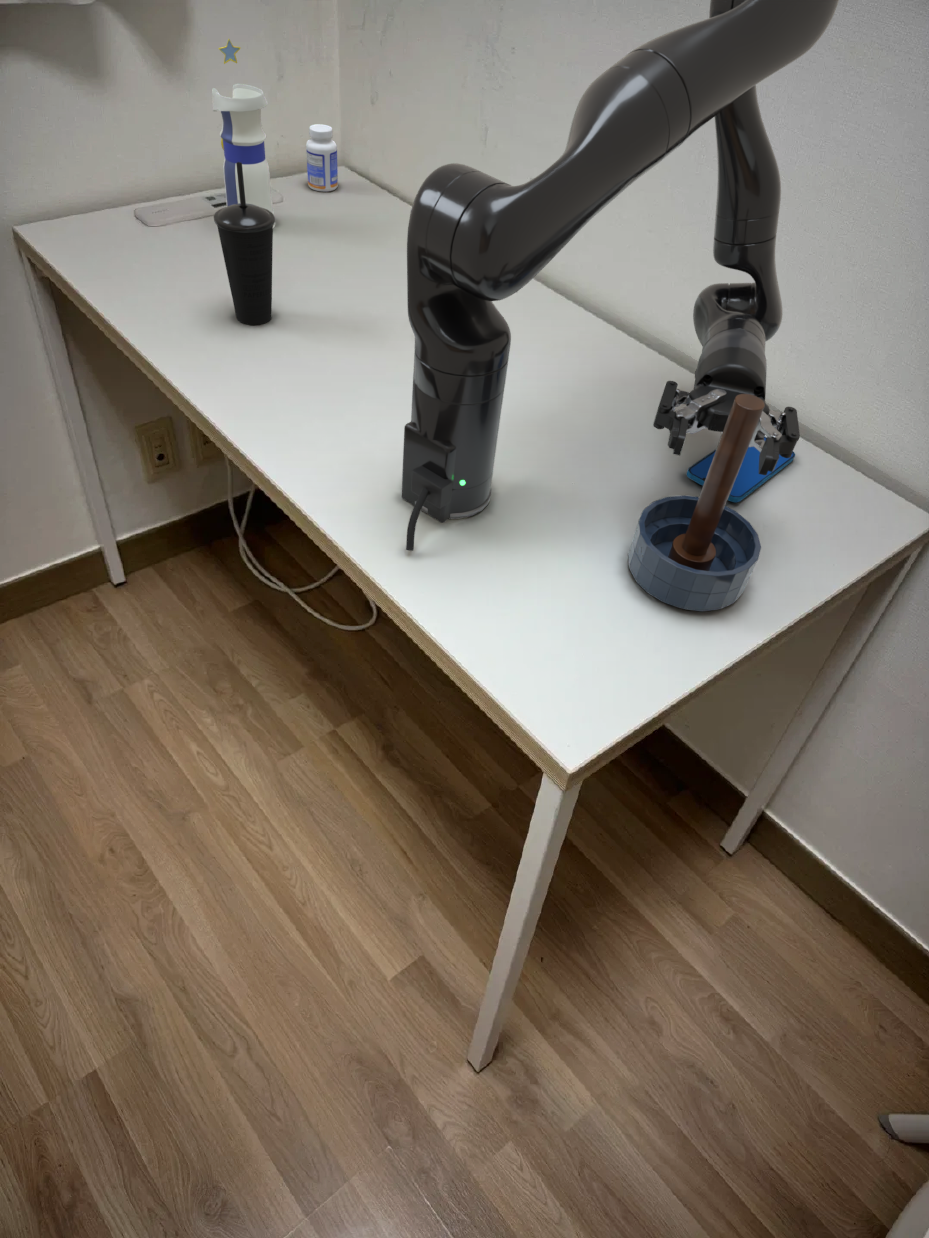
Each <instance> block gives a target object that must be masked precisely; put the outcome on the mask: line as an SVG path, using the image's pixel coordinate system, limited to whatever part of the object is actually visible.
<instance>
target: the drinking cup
mask: <svg viewBox="0 0 929 1238" xmlns="http://www.w3.org/2000/svg"><path fill="white" fill-rule="evenodd" d="M236 165H237V175H238V185H239V195H240V203H239V204H233V205H230V206H227V205H226V206H225V207H221V208H220V209H217V210H216V211H215V212H214V214H213V222H214V224H215V226H216V227H217V231H218V232H217V233H218V236H219V241H220V246H221V252H222V255H223V260H224V261H223V262H224V265H225V269H226V274H227V279H228V280H227V281H228V285H229V289H230V294H231V299H232V304H233V308H234V313H235V317H236V319H237V321H238V322H239V323H242V324H243V325H249V326H259V325H264V324H267V323H268V322H270V321H271V319H272V316H273V315H272V313H273V312H272V307H273V305H272V304H273V303H272V301H273V251H274V250H273V248H274V247H273V245H274V243H273V241H274V239H273V238H274V228H273V225H274V223H275V224H276V216H275V214H274V215H273V213H272V212H270V211H269V210H267V209H265V208H262V207H259V206H256V205H253V204H246V200H245V190H244V180H243V169H242V163H241V162H237V163H236Z"/></svg>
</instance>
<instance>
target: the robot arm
mask: <svg viewBox="0 0 929 1238" xmlns="http://www.w3.org/2000/svg"><path fill="white" fill-rule="evenodd" d="M839 1H840V0H710V2H709V11H708V13H709V14H708V18H706V19H703V20H700V21H696V22H695V23H691V24H688V25H686V26H683V27H679V28H677V29H674V30H672V31H669V32H667V33H664V34H662V35H659V36H656V37H655V38H653V39H651V40H650V41H647V42H644V43H642V44H641V45H639V46H638V47H636V48H634V49H633V50H631V51H630V52H628V53H627V54H626V55H624V57H622V58H620V59H619V60H618V61H617V62H615V63H614V64H613V65H611V66H610V67H609V68H607V69H605V70H604V72H602V73H601V74H600V75H599V76H598V77H597V78H596V79H594V80H593V81H592V82H591V83H590V85H588V87H587V88H586V89H585V91H584V92H583V94H582V95H581V97H580V99H579V100H578V103H577V106H576V108H575V111H574V113H573V118H572V121H571V125H570V128H569V132H568V137H567V141H566V146H565V149H564V151H563V153H562V155H560V157H559V158H558V159H556V161H555V162H553V163H552V164H551V165H550V166H549V167H547V168H546V169H545V170H544V171H542V172H541V173H540V174H538V175H537V176H536V177H534V178H532V179H531V180H529V181H527V182H525V183H523V184H519V185H512V184H509V183H507V182H505V181H503V180H501V179H498V178H496V177H494V176H491V175H489V174H487V173H486V172H483V171H481V170H479V169H477V168H474V167H472V166H469V165H466V164H464V163H458V162H456V163H455V162H453V163H447V164H443V165H441V166H439V167H437V168H436V169H434V170H433V171H432V172H431V173H429V174H428V175H427V177H426V178H425V179H424V181H423V182H422V184H421V185H420V187H419V189H418V190H417V193H416V195H415V197H414V199H413V203H412V206H411V209H410V213H409V219H408V225H407V226H408V227H407V237H406V291H407V293H406V294H407V295H406V296H407V298H406V299H407V317H408V322H409V325H410V328H411V330H412V333H413V336H414V351H413V352H414V353H413V373H412V392H411V412H410V413H411V414H410V421H409V422H407V423H406V424H405V425H404V427H403V428H404V429H403V448H402V449H403V450H402V473H401V475H402V476H401V499H402V500H404V501H406V502H407V503H409V504H411V505H412V506H413V508H412V510H411V513H410V516H409V520H408V524H407V531H406V541H405V543H406V545H405V550H406V551H410V552H414V547H415V536H416V535H415V534H416V527H417V523H418V518H419V516H420V513H421V512H423V513H425V514H426V515H428V516H430V517H431V518H433V519H434V520H436V521H438V522H439V523H446V522H447V521H448V520H451V519H453V520H455V519H457V520H458V519H463V518H464V519H465V518H468V517H472V516H475V515H478V514H479V513H480V512H482V511H483V510H485V508H486V507H487V506H488V504H489V503H490V501H491V498H492V497H491V495H492V483H493V476H494V466H495V461H496V460H495V459H496V453H497V445H498V438H499V431H500V423H501V418H502V417H501V416H502V410H503V401H504V394H505V387H506V380H507V373H508V366H509V359H510V352H511V343H512V333H511V329H510V325H509V324H508V322H507V321H506V318H505V317H504V316H503V315H502V314H501V312H500V311H499V310H498V308H497V307H496V305H495V304H494V303H493V302H498V301H502V300H505V299H507V298H509V297H511V296H513V295H514V294H516V293H518V292H519V291H520V290H522V289H523V288H524V287H525V286H526V285H527V284H529V283H530V282H531V281H532V280H533V279H534V278H535V277H536V276H537V275H538V274H539V273H540V272H541V271H542V270H543V269H544V268H545V267H546V266H547V265H548V264H549V263H551V261H553V259H554V258H555V257H556V256H557V255H558V254H559V253H560V252H561V251H562V250H563V249H564V248H565V247H566V245H567V244H568V243H570V241H572V239H573V238H575V236H576V235H577V234H578V233H580V231H581V230H582V229H583V228H584V227H585V226H586V225H587V224H588V223H589V222H591V220H593V218H595V216H597V215H598V214H599V213H600V212H601V211H602V210H604V209H605V208H606V207H607V206H609V204H610V203H612V201H614V200H615V199H616V198H617V197H618V196H619V195H621V194H622V193H623V192H624V191H625V190H627V188H629V186H631V185H632V184H634V183H635V182H636V181H637V180H638V179H640V178H641V177H642V176H644V175H645V174H647V173H648V172H649V171H650V170H652V169H654V168H655V167H656V166H657V165H658V164H660V163H661V162H662V161H663V160H665V159H666V158H667V157H668V156H669V155H671V154H672V153H673V152H674V151H675V150H677V149H678V148H679V147H680V146H681V145H683V144H684V143H685V142H686V141H687V140H688V139H689V138H690V137H691V136H693V134H695V133H696V132H697V131H698V130H699V129H700V128H702V127H703V126H705V125H706V124H707V123H708V122H710V121H711V120H712V119H713V118H714V128H715V141H716V155H717V156H716V158H717V187H716V190H717V191H716V201H715V203H716V204H715V217H714V231H713V244H712V256H713V259H714V261H715V263H716V264H718V266H721V267H724V268H727V269H730V270H735V271H738V272H743V273H745V274H746V275H747V274H748V275H749V276H750V277H751V278H752V279H753V282H730V283H729V282H719V283H718V282H717V283H713V284H710V285H707V286H706V287H704V288H703V289H702V290H701V291H700V292H699V294H698V295H697V297H696V299H695V301H694V305H693V311H692V312H693V313H692V319H693V320H692V321H693V326H694V331H695V334H696V337H697V339H698V341H699V343H700V346H702V349H701V354H700V356H699V358H698V361H697V364H696V365H697V366H696V369H695V371H694V384H693V389H692V390H690V391H685V390H681V389H679V388H678V386H679V384H678V382H677V381H674V380H668V381H666V382H665V387H664V389H663V391H662V395H661V398H660V401H659V404H658V407H657V411H656V415H655V416H654V420H653V425H652V427H654V428H655V429H656V430H664V429H667V430H668V431H669V436H668V440H667V441H668V442H667V447H668V449H671V450H673V451H672V455H675V456H681V453H682V450H683V447H684V444H685V442H686V439H687V438H686V437H687V434H690V435H694V434H696V433H698V432H701V431H703V430H705V429H707V430H708V431H712V432H718V433H723V430H724V427H725V424H726V422H727V419H728V416H729V413H730V411H731V408H732V405H733V402H734V400H735V397H736V396H737V395H740V394H750V395H754V396H756V397H758V398H760V399H761V400H762V401H763V402H764V404H765V406H764V409H763V411H762V414H761V417H760V419H759V422H758V424H757V427H756V429H755V432H754V434H753V437H752V439H751V442H750V444H749V447H755V448H756V449H757V450H758V451H759V452H760V455H759V474H761V475H767V472H768V471H770V472H772V471H773V470H774V469H775V466H776V464H777V462H778V459H779V454H780V456H782V457H784V458H790V457H791V455H792V453H793V452H794V449H795V447H796V446H797V443H798V441H799V439H800V437H801V434H800V433H801V432H800V426H799V418H798V410H797V409H796V408H795V407H793V406H786V407H784V410H783V411H782V412H781V411H776V410H771V409H770V407H769V405H768V404H767V403H766V394H767V393H766V392H767V371H768V370H767V369H768V368H767V367H768V366H767V365H768V364H767V358H766V342H768V341H769V340H771V339H772V338H773V337H774V336H775V335H776V333H778V331H779V329H780V327H781V324H782V320H783V302H782V295H781V291H780V285H779V281H778V275H777V265H776V245H777V233H778V225H779V219H780V218H779V217H780V209H781V199H782V182H781V174H780V169H779V166H778V162H777V158H776V155H775V153H774V149H773V147H772V144H771V141H770V139H769V136H768V133H767V130H766V127H765V124H764V122H763V118H762V113H761V109H760V105H759V100H758V94H757V85H758V84H760V83H761V82H762V81H764V80H765V79H767V78H769V77H771V76H773V75H774V74H776V73H777V72H778V71H781V70H783V69H784V68H785V67H787V66H789V65H790V64H792V63H793V62H795V61H797V60H798V59H799V58H802V56H803V57H804V55H805V54H806V53H807V52H809V51H810V50H811V49H812V48H813V47H814V46H815V45H816V44H817V43H818V42H819V40H820V39H821V38H822V36H823V35H824V33H825V32H826V31H827V29H828V27H829V25H830V24H831V22H832V20H833V17H834V15H835V13H836V11H837V8H838V5H839ZM680 405H685V406H684V407H681V408H679V409H677V410H676V408H678V407H680ZM764 436H765V437H767V438H766V440H764Z"/></svg>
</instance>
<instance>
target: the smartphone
mask: <svg viewBox="0 0 929 1238" xmlns="http://www.w3.org/2000/svg"><path fill="white" fill-rule="evenodd" d="M766 438H767V436H766V435H765V436H764V440H766ZM715 452H716V449H714V450H713V451H711V452H710V453H708V454H707V455H705V456H704V457H702V458H701V459H700V460H698V461H696V462H695V463H693V464H692V465H690V466H689V467H688V469H687V471H686V477H687V478H688V479H690V480H691V481H694V482H695V483H697V484H698V485H700V486H701V487H703V485H704V482H705V479H706V477H707V474H708V471H709V468H710V466H711V463H712V460H713V457H714V455H715ZM759 455H760V452H759V451H758V450H757V449H756V448H755V447H748V449H747V452H746V454H745V457H744V459H743V462H742V465H741V467H740V470H739V472H738V475H737V477H736V480H735V482H734V485H733V487H732V490H731V492H730V495H729V497H728V500H727V501H729V502H730V503H731V502H732V503H740V502H742V501H743V500H745V498H746V497H748V496H750V494H752V493H753V492H755V490H757V489H758V488H760V487H761V486H762V485H764V483H766V482H767V481H768V480H770V479H771V478H773V477H774V476H775V475H776V474H778V473H779V472H780V471H781V470H783V469H784V468H786V467H787V466H788V465H789V464H790V463H792V462H793V461H794V460H795V457H796V453H795V451H793V453H792V455H791V457H790V458H784V457H782V456H780V454H779V459H778V462H777V464H776V466H775V469H774V470H773V471H772V472H770V471H768V472H767V475H761V474H759Z"/></svg>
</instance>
